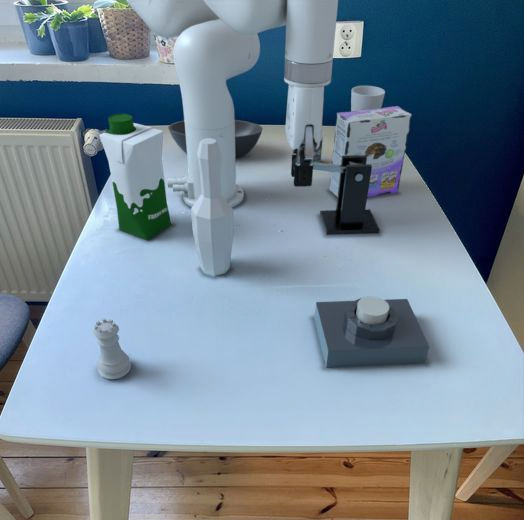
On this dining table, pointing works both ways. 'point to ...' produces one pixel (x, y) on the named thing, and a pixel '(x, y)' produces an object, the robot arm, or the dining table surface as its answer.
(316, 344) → the dining table surface
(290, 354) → the dining table surface
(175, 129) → the bowl
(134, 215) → the milk carton
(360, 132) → the candy box
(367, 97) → the cup
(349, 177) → the lever bracket
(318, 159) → the pill bottle
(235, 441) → the dining table surface
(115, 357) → the rook chess piece
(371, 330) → the block
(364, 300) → the white push button
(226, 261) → the low poly bottle
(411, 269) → the dining table surface
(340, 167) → the ball knob lever
